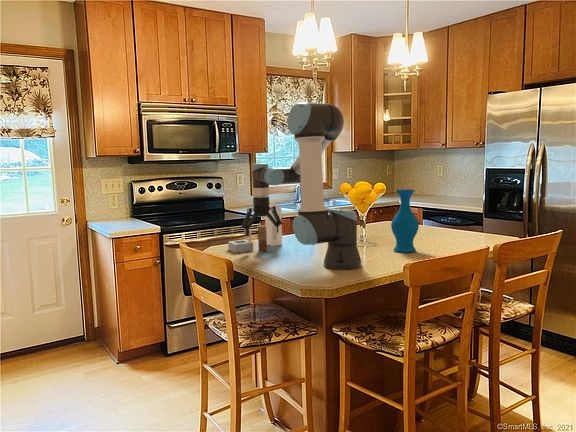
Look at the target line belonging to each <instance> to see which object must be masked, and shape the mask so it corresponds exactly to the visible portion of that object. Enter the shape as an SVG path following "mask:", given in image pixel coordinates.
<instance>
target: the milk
mask: <svg viewBox="0 0 576 432" xmlns="http://www.w3.org/2000/svg"><path fill="white" fill-rule="evenodd" d="M269 206H270V207H271V206H275V207H276V212H277V214H278V216H279V218H280V220H281V222H282V207H281V206H279V205H277V201H271V200H269ZM269 213H270V214H271V216H272V217H273V218H274V219H275V217H274V215H273V213H272V211H271V210H269ZM264 218H265V219H264V221H265V222H264V223H265V224H264V226H266V233H267V246H269V245H270V247H277V246H282V245H283V231H282V230H283V227H282V224H283V222H282V224H281V225H279V226H278V233H277V240H273V226H275V225H274V224H273V223H272V222H271V221H270V220H269V218H268V217H267V216H264ZM275 221H276V219H275ZM276 222H277V221H276Z"/></svg>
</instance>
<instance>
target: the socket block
mask: <svg viewBox="0 0 576 432" xmlns="http://www.w3.org/2000/svg"><path fill="white" fill-rule="evenodd" d="M227 243H228V244H227V248H228V249H227V250H228V251H230V252H232V253H233V252H234V254H235V253H236V254H238V253H246V252H253V251H254V242H253V241H251V243H247V239H240V240H239V239H237V240H231V241H227Z"/></svg>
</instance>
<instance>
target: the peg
mask: <svg viewBox="0 0 576 432" xmlns="http://www.w3.org/2000/svg"><path fill="white" fill-rule="evenodd" d="M257 242H258V243H257V245H258V253H266V252H268V245H267V233H266V226H265V225H258V226H257Z"/></svg>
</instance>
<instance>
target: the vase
mask: <svg viewBox="0 0 576 432" xmlns="http://www.w3.org/2000/svg"><path fill="white" fill-rule="evenodd" d="M415 191H416V190H414V189H397V190H395V192H396V193H397V194H398V196H399V198H400V207H399V209H398V211H397V213H396V214H395V215H394V217H393V219H392V220H391V224H390V225H391V226H390V227H391V231H392V234H393V236H394V238H395V240H396V244H395V246H394V248H393V251H394V252H396V253H405V254H407V253H413V252H416V250H417V249H416V247H415V246H414V239H415V237H416V235H417V234H418V231H419V224H420V223H419V221H418V218H417V216H415V214H414V213H413V210H412V209H411V205H410V204H411V203H410V202H411V198H412V195H413V194H414V193H415Z"/></svg>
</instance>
